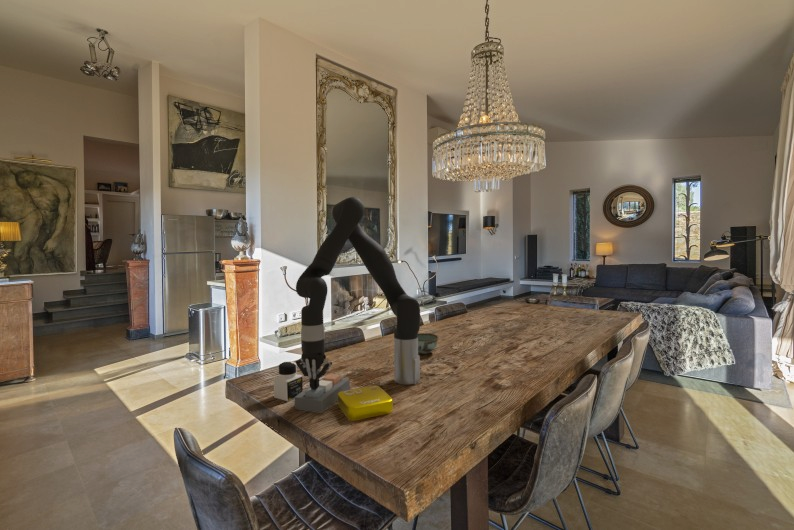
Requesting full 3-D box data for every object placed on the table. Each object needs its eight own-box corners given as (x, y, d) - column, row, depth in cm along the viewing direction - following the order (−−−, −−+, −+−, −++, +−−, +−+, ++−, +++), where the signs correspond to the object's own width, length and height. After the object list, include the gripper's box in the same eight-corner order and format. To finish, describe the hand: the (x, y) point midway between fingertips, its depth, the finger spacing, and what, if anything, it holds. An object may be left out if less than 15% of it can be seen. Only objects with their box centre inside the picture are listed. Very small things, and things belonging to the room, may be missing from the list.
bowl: (443, 351, 189) (443, 335, 188) (430, 358, 178) (430, 341, 177) (418, 347, 196) (418, 331, 196) (405, 354, 185) (404, 337, 184)
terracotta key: (340, 384, 141) (340, 375, 140) (334, 389, 136) (334, 379, 136) (329, 383, 142) (329, 373, 142) (323, 387, 138) (323, 377, 138)
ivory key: (332, 391, 135) (332, 381, 135) (326, 396, 131) (325, 386, 131) (321, 389, 136) (321, 380, 136) (314, 394, 132) (314, 384, 132)
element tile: (349, 423, 117) (349, 407, 116) (336, 404, 130) (336, 390, 130) (394, 413, 123) (394, 398, 123) (377, 396, 137) (377, 383, 136)
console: (349, 389, 141) (349, 379, 141) (321, 413, 123) (321, 400, 122) (325, 386, 145) (325, 376, 145) (294, 408, 126) (294, 397, 126)
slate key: (323, 398, 129) (323, 388, 129) (316, 403, 125) (316, 393, 125) (312, 396, 131) (312, 386, 131) (305, 402, 127) (304, 391, 126)
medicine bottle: (287, 402, 132) (286, 367, 131) (273, 397, 135) (272, 364, 134) (303, 394, 138) (302, 361, 137) (289, 390, 141) (288, 358, 141)
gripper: (336, 335, 128) (337, 387, 129) (301, 333, 132) (303, 382, 133) (325, 341, 121) (326, 395, 122) (289, 338, 125) (290, 390, 126)
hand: (314, 388), depth 128 cm, fingers closed
